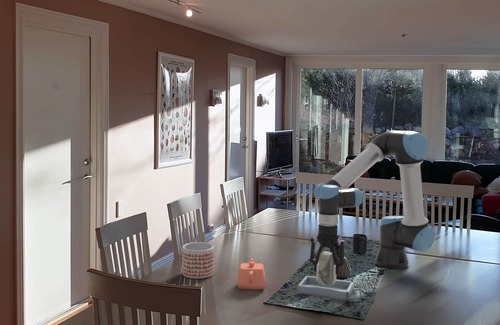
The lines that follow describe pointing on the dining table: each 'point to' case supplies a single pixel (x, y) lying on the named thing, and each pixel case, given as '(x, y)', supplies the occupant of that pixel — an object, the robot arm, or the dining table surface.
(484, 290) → the dining table surface
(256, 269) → the teapot
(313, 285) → the bin
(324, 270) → the box
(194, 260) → the planter
